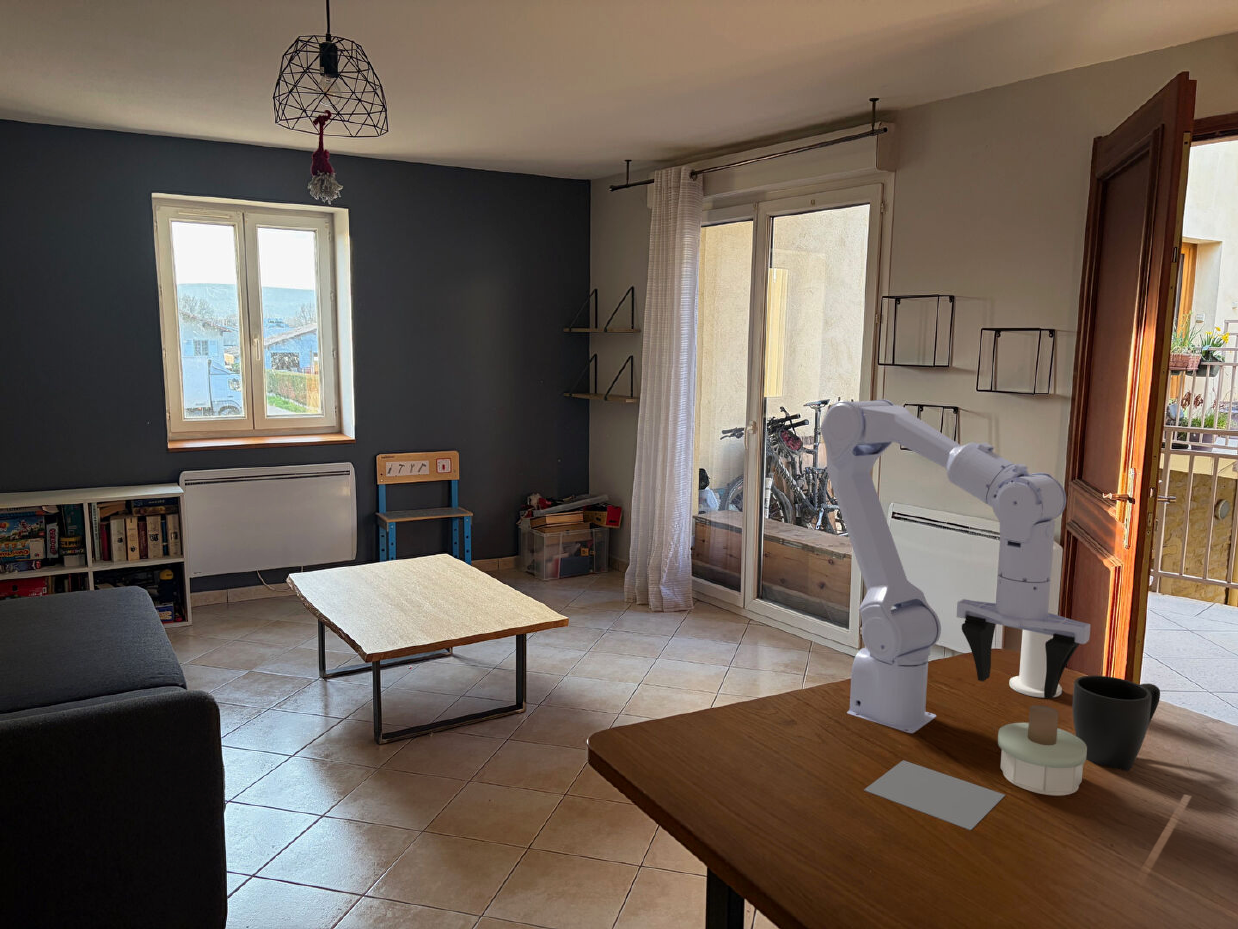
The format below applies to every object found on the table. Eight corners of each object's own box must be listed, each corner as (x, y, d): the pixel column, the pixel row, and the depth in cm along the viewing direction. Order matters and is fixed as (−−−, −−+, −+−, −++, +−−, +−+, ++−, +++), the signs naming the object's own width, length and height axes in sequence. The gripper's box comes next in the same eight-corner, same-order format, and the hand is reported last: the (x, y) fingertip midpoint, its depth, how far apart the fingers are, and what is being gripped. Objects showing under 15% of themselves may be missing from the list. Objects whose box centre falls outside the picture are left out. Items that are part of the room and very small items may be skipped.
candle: (1057, 683, 132) (1070, 521, 129) (1065, 701, 126) (1078, 530, 123) (1007, 677, 135) (1018, 518, 131) (1011, 694, 128) (1023, 527, 125)
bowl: (992, 782, 101) (994, 748, 101) (1016, 760, 107) (1018, 727, 107) (1066, 807, 96) (1069, 771, 96) (1087, 782, 102) (1090, 748, 101)
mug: (1183, 766, 106) (1190, 691, 105) (1110, 782, 102) (1117, 704, 101) (1123, 738, 114) (1129, 668, 112) (1053, 752, 109) (1058, 679, 108)
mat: (863, 794, 98) (863, 789, 98) (902, 765, 106) (903, 760, 106) (970, 835, 90) (970, 830, 90) (1005, 800, 98) (1005, 795, 97)
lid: (984, 748, 101) (986, 709, 100) (1017, 725, 107) (1019, 688, 107) (1068, 776, 94) (1071, 735, 94) (1098, 750, 101) (1101, 711, 100)
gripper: (949, 571, 105) (942, 680, 106) (1080, 595, 95) (1071, 714, 97) (972, 561, 110) (965, 665, 112) (1099, 583, 100) (1089, 696, 102)
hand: (1015, 687), depth 105 cm, fingers open, 7 cm apart
